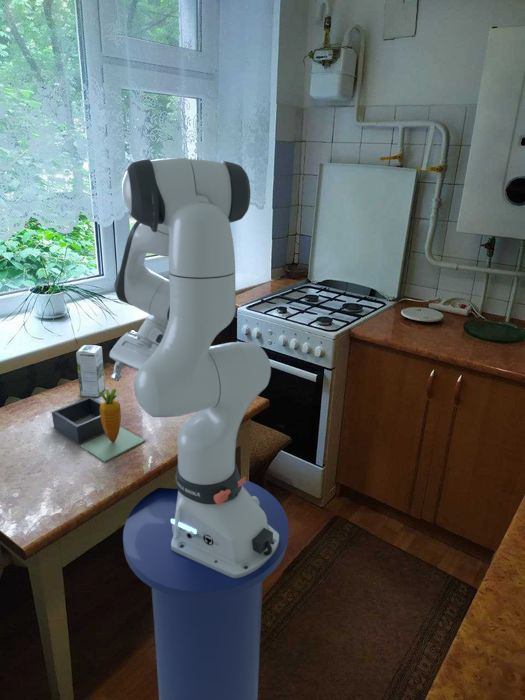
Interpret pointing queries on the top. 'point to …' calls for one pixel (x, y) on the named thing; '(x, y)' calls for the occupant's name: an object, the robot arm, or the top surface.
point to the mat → (112, 444)
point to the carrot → (110, 415)
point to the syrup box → (90, 370)
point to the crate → (76, 411)
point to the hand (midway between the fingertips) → (125, 385)
